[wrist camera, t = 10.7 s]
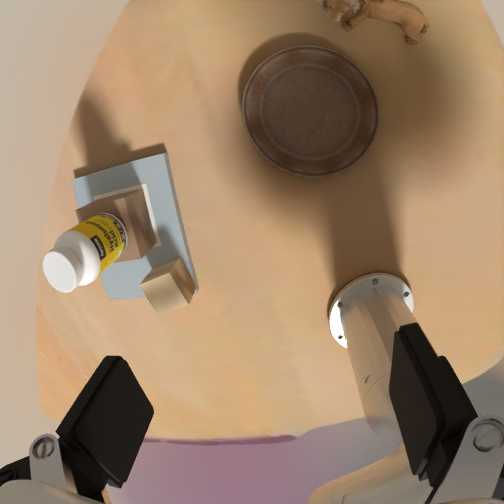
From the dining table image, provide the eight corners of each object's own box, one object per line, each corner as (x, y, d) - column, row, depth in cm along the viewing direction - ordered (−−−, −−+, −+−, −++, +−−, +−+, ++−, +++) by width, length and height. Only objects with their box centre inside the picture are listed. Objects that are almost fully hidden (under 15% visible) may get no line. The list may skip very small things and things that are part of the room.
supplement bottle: (138, 236, 31) (92, 278, 22) (112, 265, 33) (67, 310, 24) (105, 201, 30) (50, 231, 21) (81, 232, 31) (29, 268, 22)
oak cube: (197, 286, 39) (188, 304, 34) (169, 296, 39) (158, 315, 35) (180, 256, 37) (169, 272, 33) (152, 268, 38) (139, 285, 34)
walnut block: (156, 242, 36) (141, 259, 32) (111, 249, 37) (92, 265, 33) (142, 188, 34) (124, 197, 29) (96, 199, 35) (75, 210, 30)
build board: (199, 288, 40) (196, 292, 39) (112, 295, 42) (109, 299, 41) (167, 152, 33) (163, 153, 32) (76, 178, 35) (71, 180, 34)
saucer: (315, 28, 27) (318, 21, 24) (395, 126, 30) (404, 126, 28) (217, 103, 31) (212, 101, 29) (301, 199, 35) (303, 204, 32)
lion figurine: (313, 39, 27) (326, 12, 19) (307, 2, 25) (316, -32, 17) (427, 48, 26) (465, 33, 17) (419, 13, 24) (453, -9, 15)
